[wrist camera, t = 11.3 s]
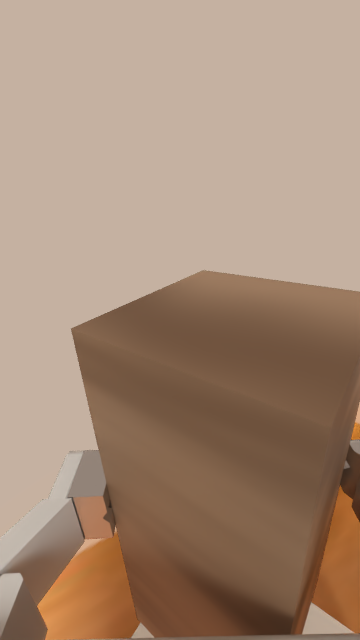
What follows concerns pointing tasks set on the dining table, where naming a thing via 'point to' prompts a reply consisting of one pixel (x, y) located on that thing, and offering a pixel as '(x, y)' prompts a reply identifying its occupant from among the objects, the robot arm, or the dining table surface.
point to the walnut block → (224, 445)
